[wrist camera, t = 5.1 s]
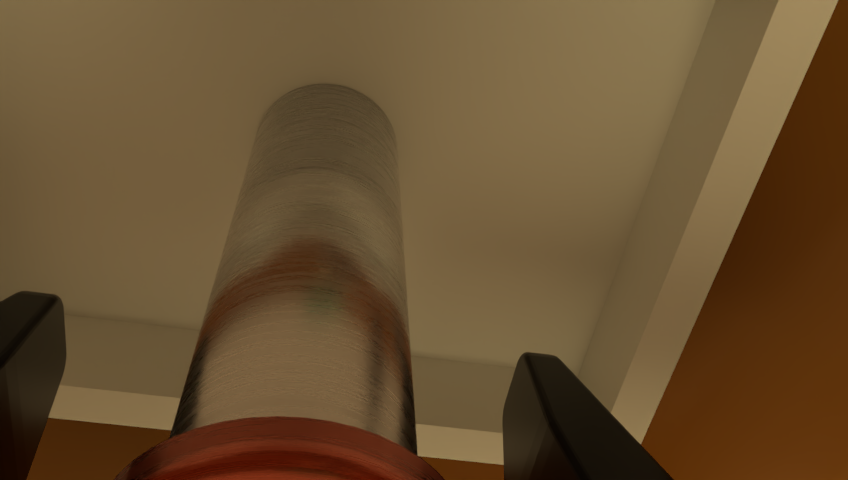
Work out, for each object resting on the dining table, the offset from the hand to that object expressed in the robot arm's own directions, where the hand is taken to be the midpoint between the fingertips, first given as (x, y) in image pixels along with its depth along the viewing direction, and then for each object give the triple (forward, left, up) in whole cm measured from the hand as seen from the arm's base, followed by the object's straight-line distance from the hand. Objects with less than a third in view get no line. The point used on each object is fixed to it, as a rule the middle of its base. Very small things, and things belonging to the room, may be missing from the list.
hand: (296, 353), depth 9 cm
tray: (0, 0, -6) cm, 6 cm away
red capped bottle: (0, 0, -5) cm, 5 cm away
